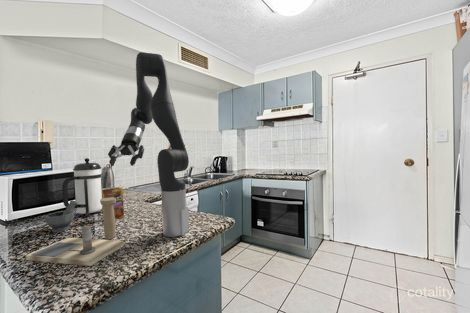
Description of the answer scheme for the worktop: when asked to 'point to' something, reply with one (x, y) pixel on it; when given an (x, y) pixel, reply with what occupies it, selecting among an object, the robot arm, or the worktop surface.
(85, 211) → the coffee press
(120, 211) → the candy box
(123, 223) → the worktop surface
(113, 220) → the handle
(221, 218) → the worktop surface
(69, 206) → the mortar and pestle
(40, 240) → the worktop surface
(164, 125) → the robot arm
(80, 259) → the plate
